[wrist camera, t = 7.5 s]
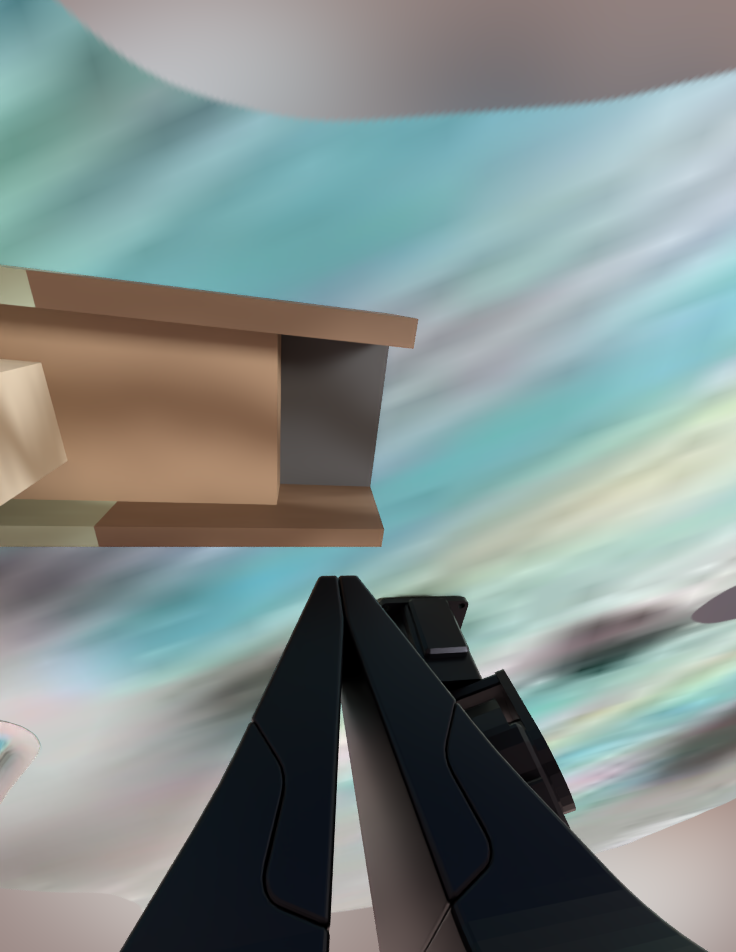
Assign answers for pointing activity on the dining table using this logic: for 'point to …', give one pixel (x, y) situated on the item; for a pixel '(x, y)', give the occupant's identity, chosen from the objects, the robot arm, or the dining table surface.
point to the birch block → (26, 428)
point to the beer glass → (15, 754)
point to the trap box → (198, 415)
